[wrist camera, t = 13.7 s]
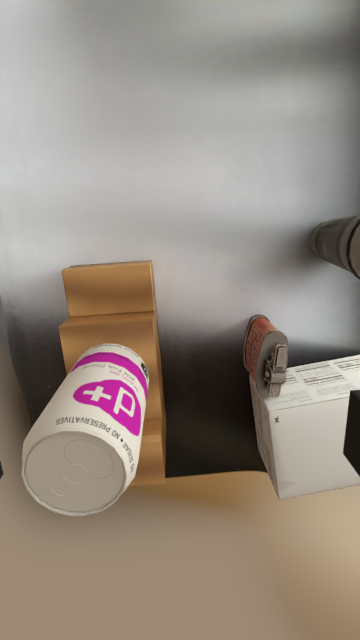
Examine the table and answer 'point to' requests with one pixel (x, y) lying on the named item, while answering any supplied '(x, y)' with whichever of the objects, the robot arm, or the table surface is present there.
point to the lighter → (265, 355)
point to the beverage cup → (339, 242)
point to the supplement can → (89, 434)
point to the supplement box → (307, 428)
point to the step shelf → (120, 339)
